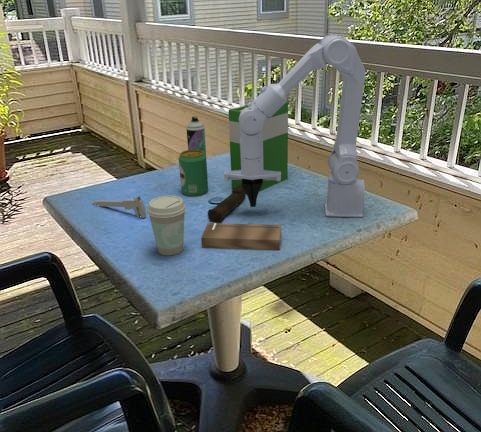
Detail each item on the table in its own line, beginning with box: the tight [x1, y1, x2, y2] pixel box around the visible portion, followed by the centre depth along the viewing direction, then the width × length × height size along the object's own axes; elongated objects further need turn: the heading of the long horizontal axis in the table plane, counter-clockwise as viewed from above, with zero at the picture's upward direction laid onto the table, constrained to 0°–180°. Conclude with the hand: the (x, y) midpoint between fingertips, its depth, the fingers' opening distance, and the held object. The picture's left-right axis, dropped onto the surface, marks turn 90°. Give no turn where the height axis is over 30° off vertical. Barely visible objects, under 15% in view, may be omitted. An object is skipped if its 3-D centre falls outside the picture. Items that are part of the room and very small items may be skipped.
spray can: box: [186, 115, 209, 179], centre depth 150 cm, size 6×6×20 cm
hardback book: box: [228, 101, 289, 196], centre depth 143 cm, size 18×7×24 cm, turn 137°
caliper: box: [91, 195, 147, 219], centre depth 132 cm, size 20×1×6 cm, turn 57°
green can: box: [178, 149, 209, 197], centre depth 142 cm, size 8×8×12 cm
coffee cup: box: [146, 195, 187, 256], centre depth 109 cm, size 9×8×12 cm
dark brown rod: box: [207, 185, 246, 223], centre depth 131 cm, size 19×4×5 cm, turn 152°
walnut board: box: [200, 222, 282, 251], centre depth 114 cm, size 18×8×3 cm, turn 83°
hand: (253, 205), depth 127 cm, fingers closed
